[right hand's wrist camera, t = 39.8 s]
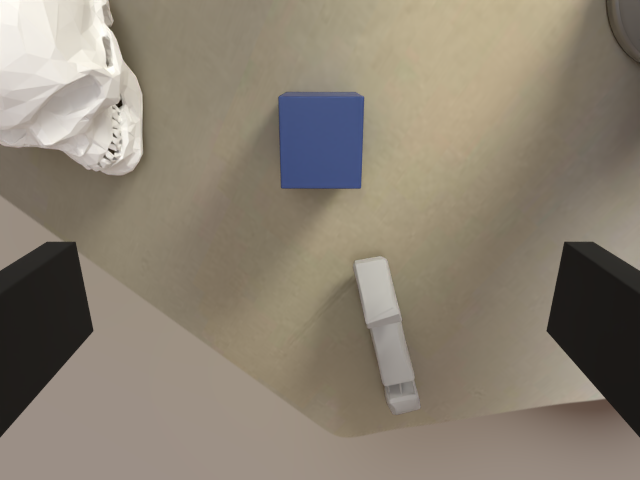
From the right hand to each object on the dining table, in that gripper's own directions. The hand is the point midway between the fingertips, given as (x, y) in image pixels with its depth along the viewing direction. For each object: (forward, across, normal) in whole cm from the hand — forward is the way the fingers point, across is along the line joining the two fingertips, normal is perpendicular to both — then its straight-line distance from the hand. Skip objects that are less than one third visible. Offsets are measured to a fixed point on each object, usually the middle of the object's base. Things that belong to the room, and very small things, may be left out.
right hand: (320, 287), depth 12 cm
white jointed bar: (+34, +8, -22) cm, 41 cm away
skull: (+34, -23, +7) cm, 41 cm away
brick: (+34, 0, 0) cm, 34 cm away
